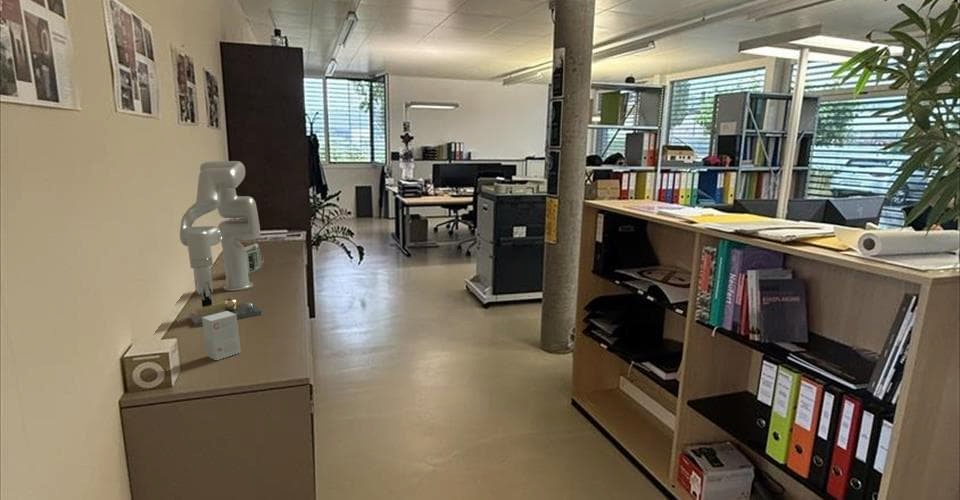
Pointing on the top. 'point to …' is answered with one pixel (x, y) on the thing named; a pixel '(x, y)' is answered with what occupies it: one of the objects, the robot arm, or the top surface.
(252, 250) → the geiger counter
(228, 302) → the lever with round hub
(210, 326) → the small box
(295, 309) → the top surface
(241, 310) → the flat grey rectangular plate
